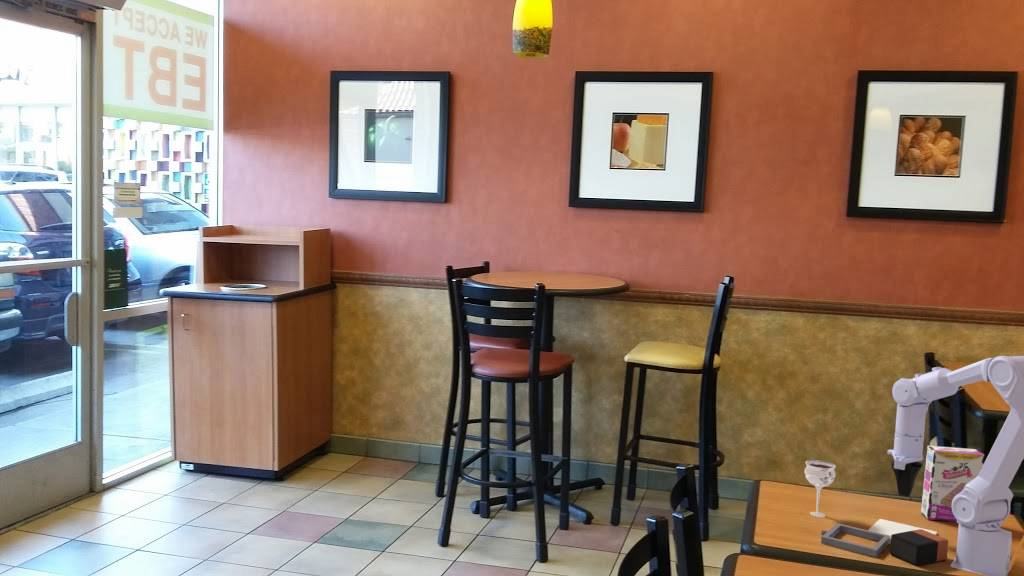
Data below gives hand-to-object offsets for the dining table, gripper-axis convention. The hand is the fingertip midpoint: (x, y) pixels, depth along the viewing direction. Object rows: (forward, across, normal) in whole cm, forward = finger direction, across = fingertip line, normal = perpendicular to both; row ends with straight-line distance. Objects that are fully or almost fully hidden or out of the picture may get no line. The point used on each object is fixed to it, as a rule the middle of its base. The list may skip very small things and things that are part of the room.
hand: (904, 495), depth 192 cm
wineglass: (+9, +1, -18) cm, 20 cm away
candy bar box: (+9, -19, +6) cm, 22 cm away
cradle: (+9, +13, -6) cm, 17 cm away
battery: (+6, +17, +4) cm, 18 cm away
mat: (+9, 0, 0) cm, 9 cm away
